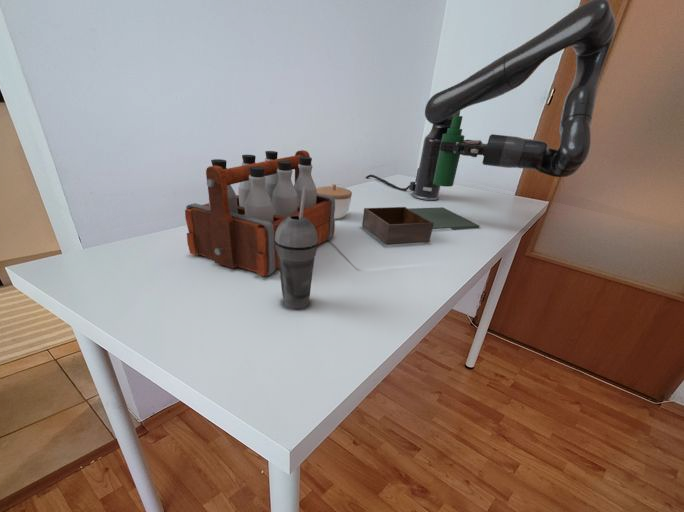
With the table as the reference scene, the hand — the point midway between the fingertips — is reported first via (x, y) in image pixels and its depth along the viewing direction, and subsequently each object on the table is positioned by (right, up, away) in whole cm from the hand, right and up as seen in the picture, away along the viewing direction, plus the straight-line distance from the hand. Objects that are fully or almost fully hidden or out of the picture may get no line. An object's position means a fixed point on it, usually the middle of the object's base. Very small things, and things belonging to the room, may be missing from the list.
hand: (442, 144), depth 104 cm
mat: (+2, -17, +13) cm, 21 cm away
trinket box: (-32, -19, +6) cm, 38 cm away
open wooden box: (-15, -27, -3) cm, 31 cm away
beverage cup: (-38, -51, -38) cm, 74 cm away
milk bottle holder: (-48, -34, -16) cm, 61 cm away
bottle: (+2, -9, +5) cm, 11 cm away
